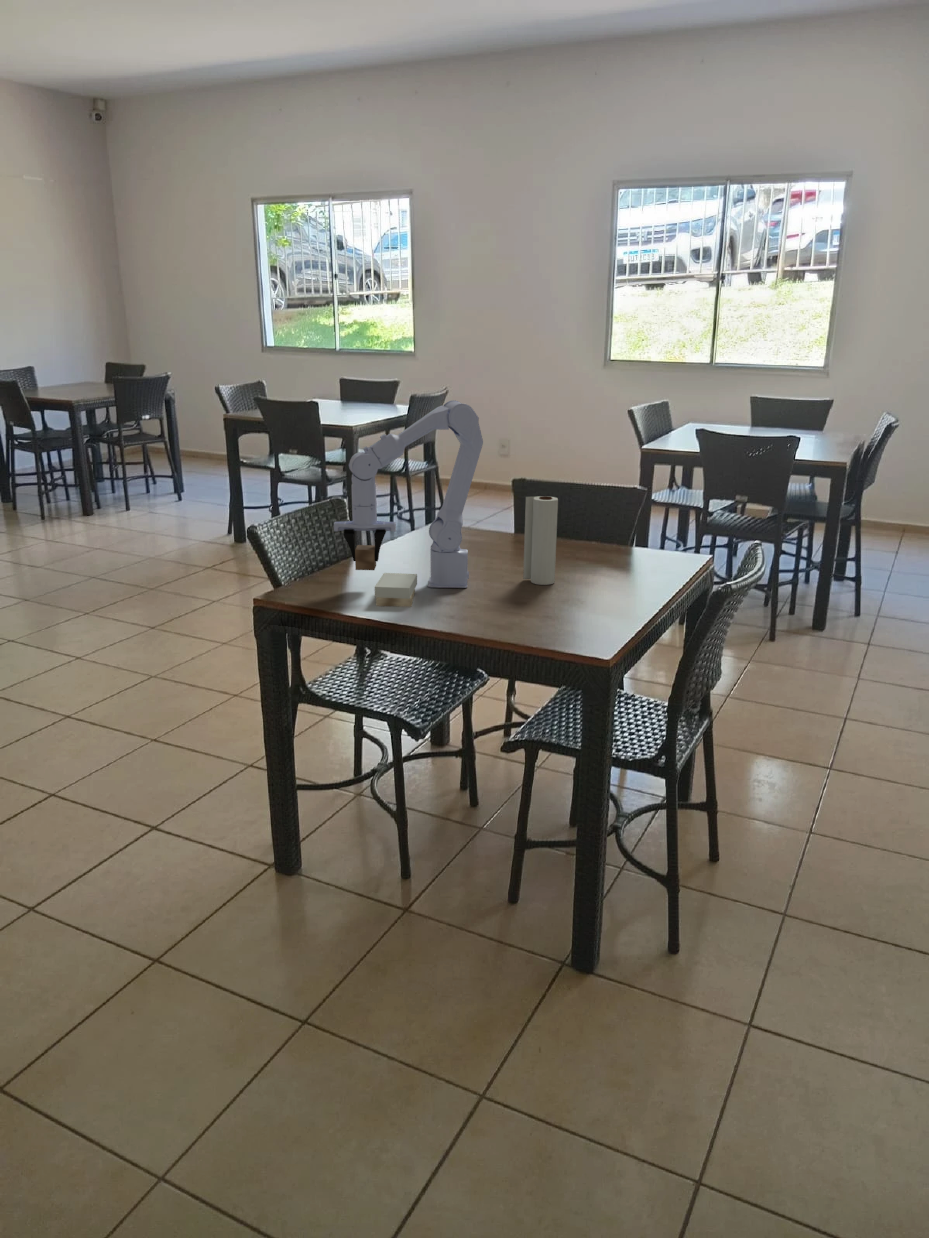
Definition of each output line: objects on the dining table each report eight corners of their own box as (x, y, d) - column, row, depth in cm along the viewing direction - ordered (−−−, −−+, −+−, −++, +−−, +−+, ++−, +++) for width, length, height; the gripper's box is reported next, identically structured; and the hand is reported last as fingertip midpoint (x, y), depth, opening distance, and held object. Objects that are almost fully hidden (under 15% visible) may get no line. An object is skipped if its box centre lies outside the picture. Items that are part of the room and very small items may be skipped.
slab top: (417, 584, 221) (417, 574, 220) (409, 598, 209) (409, 588, 208) (384, 582, 221) (384, 572, 221) (374, 597, 210) (374, 586, 209)
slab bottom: (414, 593, 222) (414, 583, 221) (411, 609, 210) (411, 598, 209) (381, 593, 222) (381, 583, 221) (376, 608, 210) (376, 598, 209)
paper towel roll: (559, 583, 229) (563, 498, 223) (539, 586, 226) (542, 500, 220) (542, 576, 235) (545, 493, 229) (523, 580, 232) (525, 495, 226)
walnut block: (376, 565, 224) (376, 545, 222) (374, 570, 220) (374, 549, 218) (357, 565, 224) (357, 545, 222) (355, 569, 220) (355, 549, 218)
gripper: (396, 501, 221) (397, 556, 225) (335, 501, 221) (338, 556, 225) (393, 507, 214) (395, 563, 218) (331, 506, 214) (333, 563, 218)
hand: (365, 560), depth 221 cm, fingers closed on walnut block, 4 cm apart
